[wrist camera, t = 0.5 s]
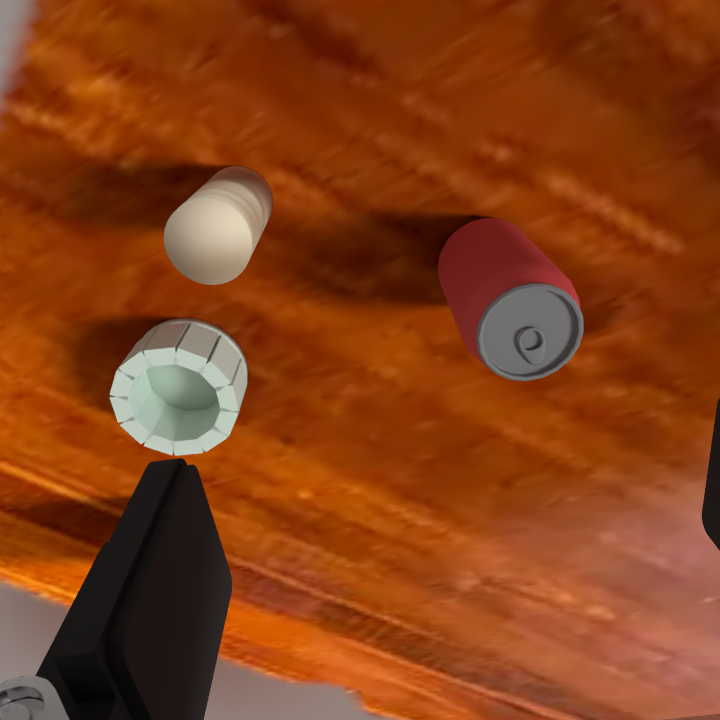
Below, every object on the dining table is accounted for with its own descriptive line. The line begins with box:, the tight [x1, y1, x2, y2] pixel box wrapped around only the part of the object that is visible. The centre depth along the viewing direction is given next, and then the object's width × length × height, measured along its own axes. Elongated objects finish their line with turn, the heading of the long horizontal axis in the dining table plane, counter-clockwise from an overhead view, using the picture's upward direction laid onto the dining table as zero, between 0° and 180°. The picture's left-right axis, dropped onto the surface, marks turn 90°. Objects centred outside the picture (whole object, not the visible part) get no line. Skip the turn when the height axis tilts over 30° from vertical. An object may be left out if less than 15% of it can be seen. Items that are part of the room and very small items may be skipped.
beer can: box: [437, 218, 583, 381], centre depth 36 cm, size 7×7×12 cm
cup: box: [109, 318, 248, 456], centre depth 43 cm, size 8×8×5 cm
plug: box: [164, 166, 273, 285], centre depth 35 cm, size 4×4×10 cm
